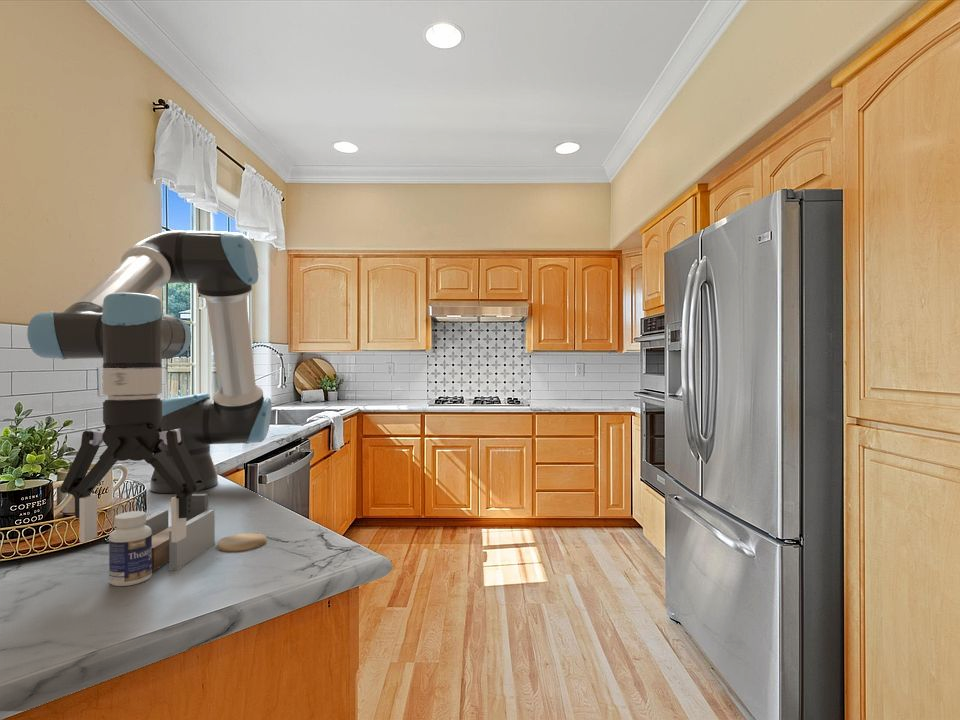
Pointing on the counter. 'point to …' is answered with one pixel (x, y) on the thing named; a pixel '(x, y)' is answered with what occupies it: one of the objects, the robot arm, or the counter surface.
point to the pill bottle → (130, 549)
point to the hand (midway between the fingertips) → (133, 539)
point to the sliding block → (162, 539)
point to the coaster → (241, 542)
